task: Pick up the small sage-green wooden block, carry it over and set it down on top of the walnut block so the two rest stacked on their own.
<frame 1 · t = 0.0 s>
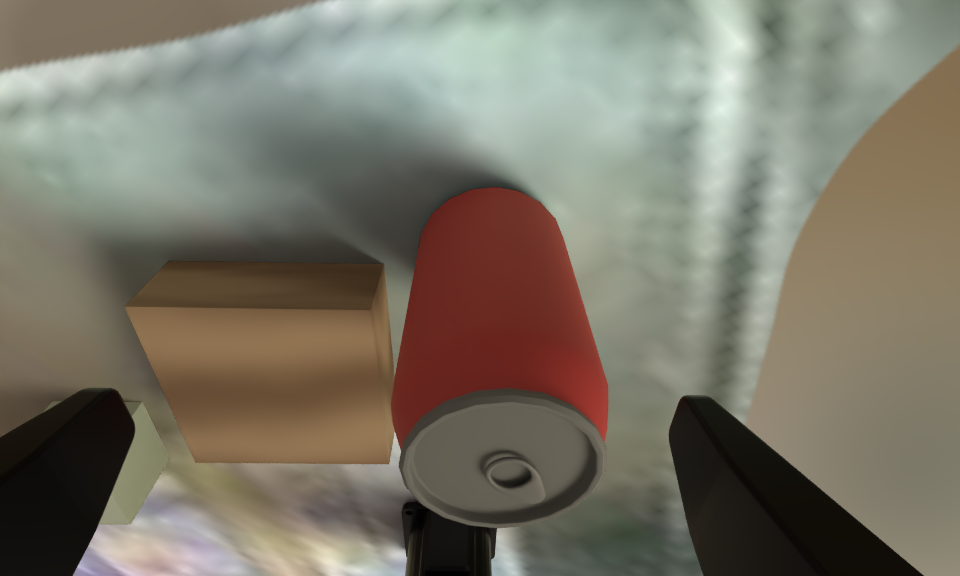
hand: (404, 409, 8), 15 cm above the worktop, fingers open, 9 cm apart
sage block: (115, 429, 30), on the worktop
beer can: (490, 246, 24), on the worktop
walnut block: (297, 339, 27), on the worktop
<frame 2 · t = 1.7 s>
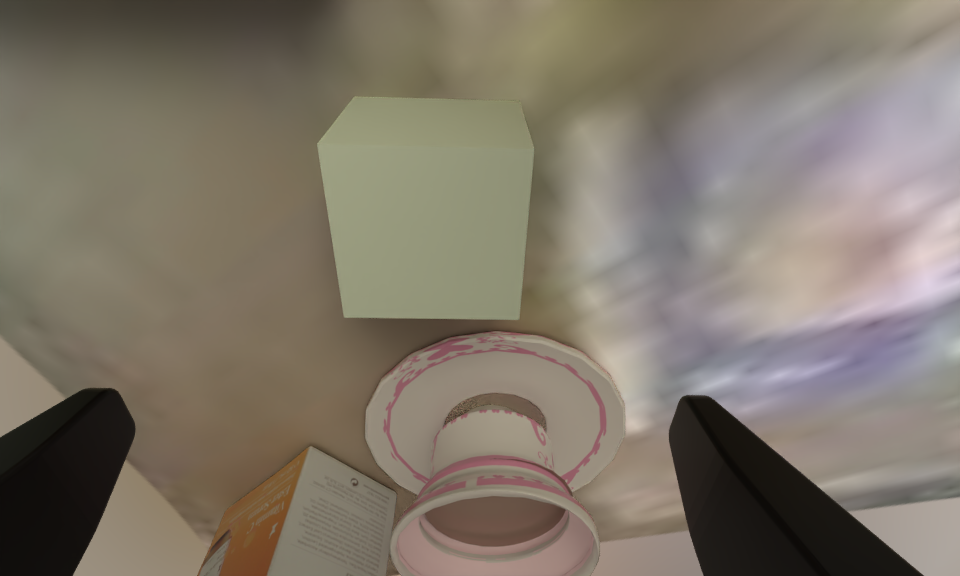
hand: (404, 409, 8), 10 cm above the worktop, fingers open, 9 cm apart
teacup: (494, 423, 24), on the worktop
sage block: (438, 176, 17), on the worktop
small box: (311, 496, 27), on the worktop
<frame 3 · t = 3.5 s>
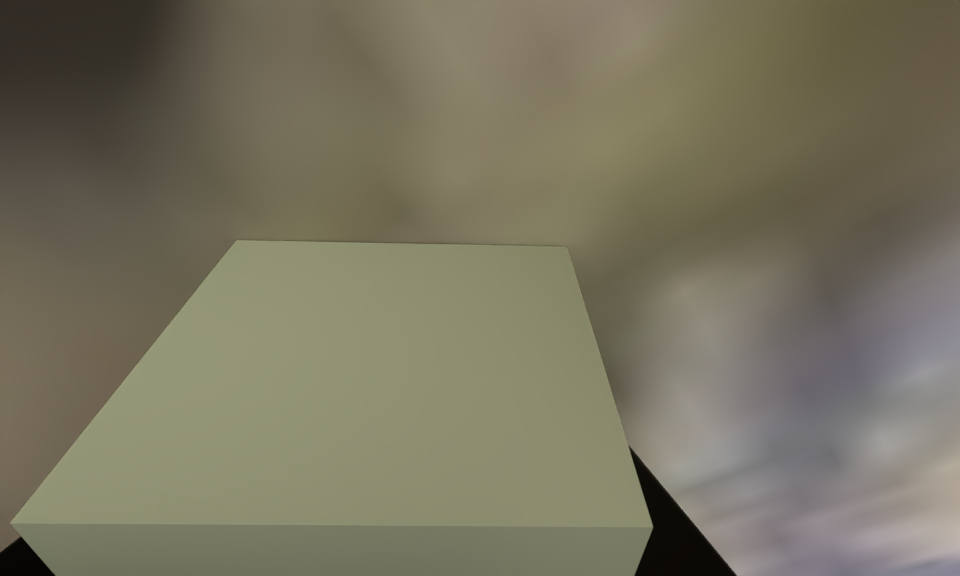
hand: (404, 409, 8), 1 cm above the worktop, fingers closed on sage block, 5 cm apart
sage block: (411, 365, 9), on the worktop, touching gripper
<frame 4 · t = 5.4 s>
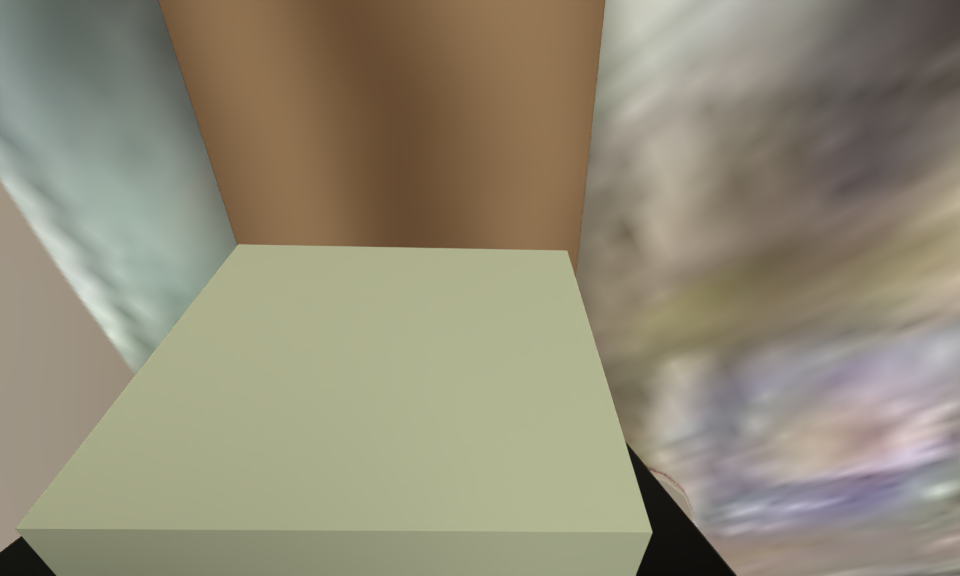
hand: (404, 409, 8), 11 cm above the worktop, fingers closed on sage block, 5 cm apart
teacup: (585, 518, 30), on the worktop
sage block: (411, 368, 9), point 10 cm above the worktop, touching gripper
walnut block: (413, 109, 17), on the worktop
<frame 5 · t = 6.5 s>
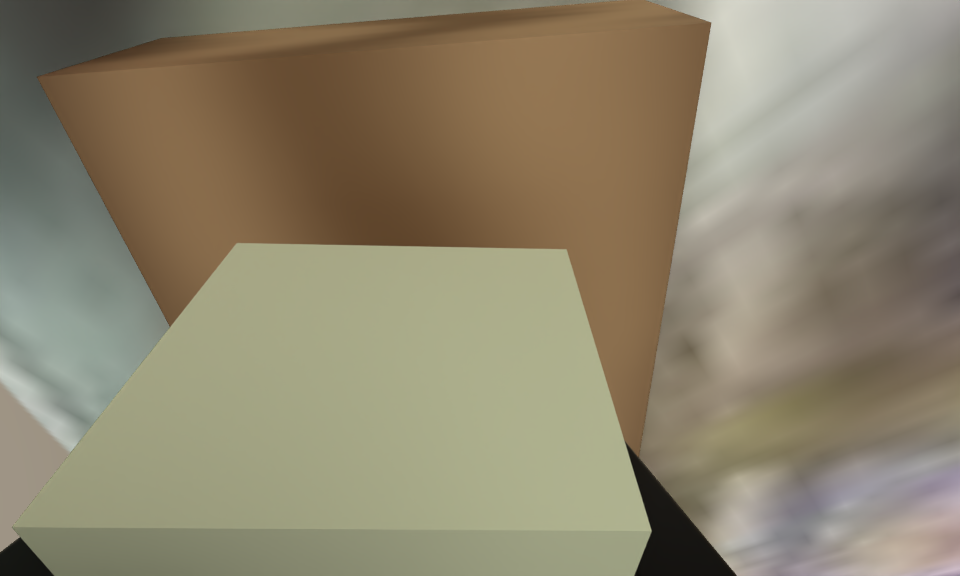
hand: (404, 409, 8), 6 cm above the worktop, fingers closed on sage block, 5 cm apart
sage block: (411, 367, 9), point 5 cm above the worktop, touching gripper
walnut block: (429, 226, 14), on the worktop
when the fingers open (6 cm above the worktop, at t = 7.2 s): sage block drops 1 cm, resting on walnut block.
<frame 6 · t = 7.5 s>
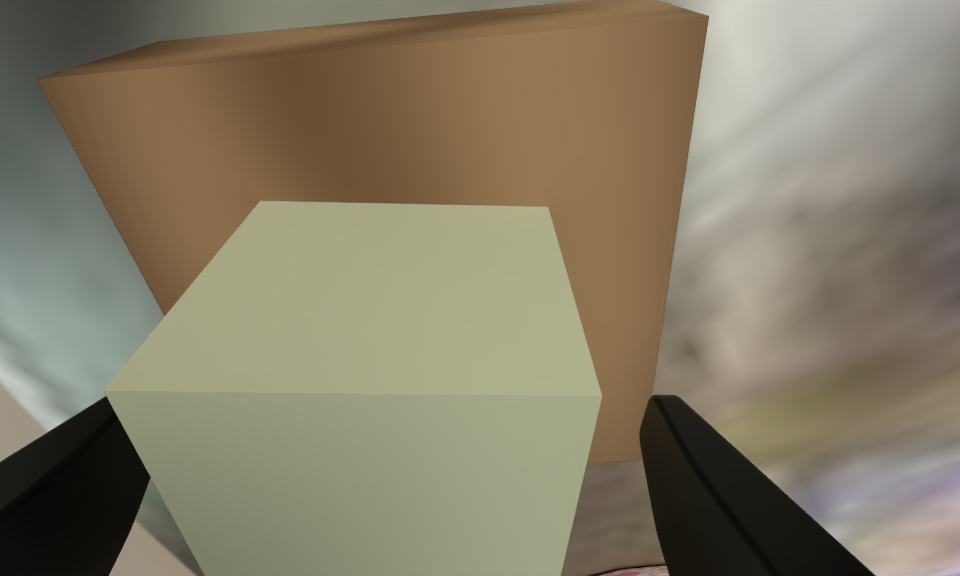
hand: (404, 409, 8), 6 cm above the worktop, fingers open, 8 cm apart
sage block: (412, 317, 10), point 4 cm above the worktop, touching walnut block
walnut block: (430, 226, 14), on the worktop, touching sage block
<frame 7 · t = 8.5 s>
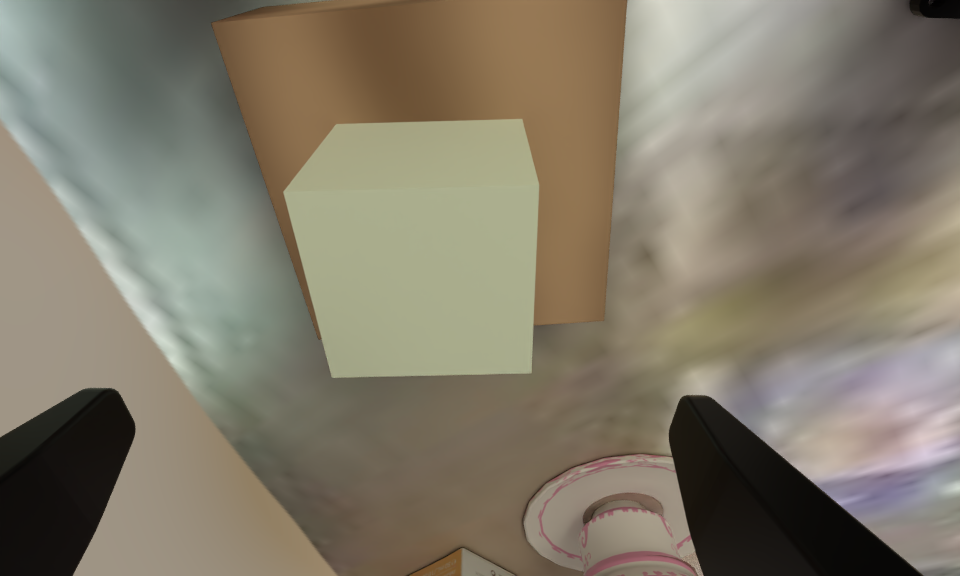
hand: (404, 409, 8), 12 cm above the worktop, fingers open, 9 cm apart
teacup: (621, 510, 31), on the worktop
sage block: (435, 206, 15), point 4 cm above the worktop, touching walnut block
walnut block: (448, 151, 18), on the worktop, touching sage block
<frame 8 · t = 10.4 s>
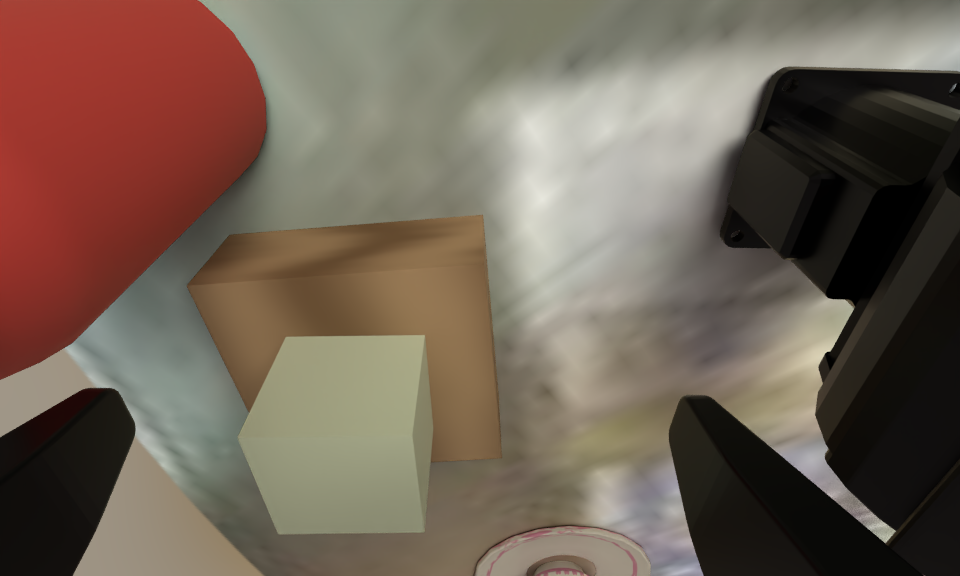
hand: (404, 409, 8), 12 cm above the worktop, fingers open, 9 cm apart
teacup: (560, 567, 35), on the worktop
sage block: (364, 385, 20), point 4 cm above the worktop
beer can: (174, 87, 17), on the worktop
walnut block: (381, 319, 23), on the worktop
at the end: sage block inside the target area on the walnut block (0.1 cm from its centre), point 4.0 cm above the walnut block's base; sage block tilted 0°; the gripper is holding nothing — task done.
